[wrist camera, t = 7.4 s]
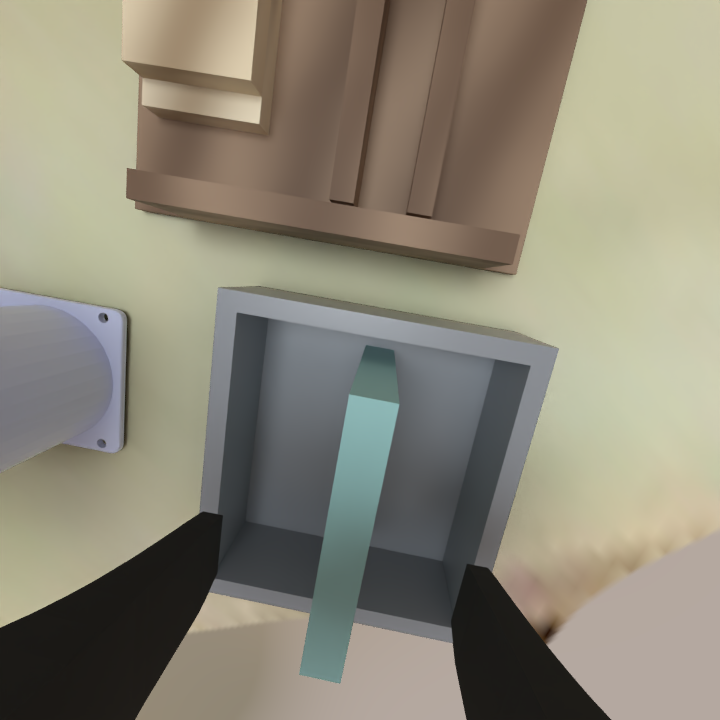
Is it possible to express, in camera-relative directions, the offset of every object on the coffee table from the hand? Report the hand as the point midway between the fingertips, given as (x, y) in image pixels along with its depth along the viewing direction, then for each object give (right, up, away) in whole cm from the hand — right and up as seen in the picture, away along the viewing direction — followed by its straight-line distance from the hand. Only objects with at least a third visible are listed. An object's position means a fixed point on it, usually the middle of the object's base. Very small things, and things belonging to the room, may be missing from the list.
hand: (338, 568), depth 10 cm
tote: (+1, +2, +9) cm, 9 cm away
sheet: (+1, +2, +8) cm, 9 cm away
